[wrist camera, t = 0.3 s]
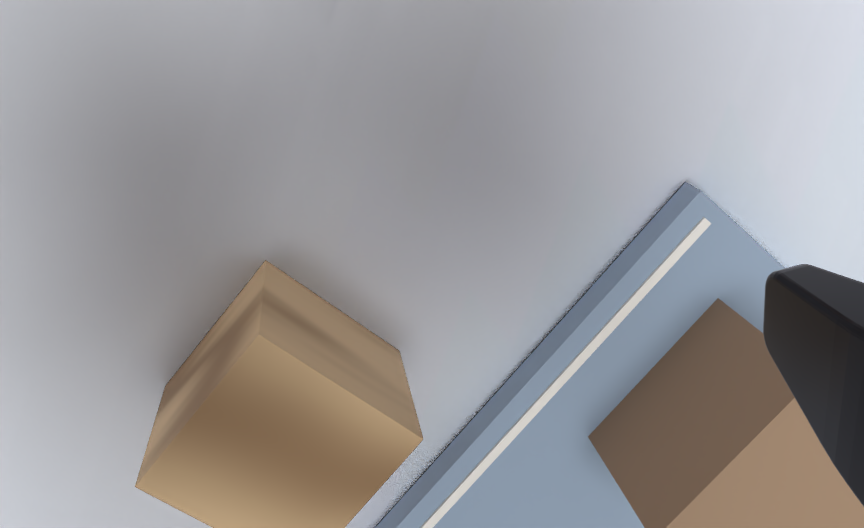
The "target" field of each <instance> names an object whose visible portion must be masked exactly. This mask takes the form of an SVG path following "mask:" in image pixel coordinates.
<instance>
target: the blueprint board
mask: <svg viewBox="0 0 864 528" xmlns="http://www.w3.org/2000/svg"><path fill="white" fill-rule="evenodd" d="M781 269H785V268H784V267H783V266H782V265H781V264H780V263H779V262H777V261H776V260H775V259H774V258H773V257H772V256H771V255H770V254H769V253H768V252H767V251H766V250H764V249H763V248H762V247H761V246H760V245H759V244H758V243H757V242H756V241H755V240H754V239H753V238H752V237H750V236H749V235H748V234H747V233H746V232H745V231H744V230H743V229H742V228H741V227H740V226H739V225H737V224H736V223H735V222H734V221H733V220H732V219H731V218H730V217H729V216H728V215H727V214H726V213H725V212H723V211H722V210H721V209H720V208H719V207H718V206H717V205H716V204H715V203H714V202H713V201H712V200H710V199H709V198H708V197H707V196H706V195H705V194H704V193H703V192H702V191H701V190H699V189H697V188H695V187H693V186H692V185H690V184H688V183H686V182H685V183H684V184H683V185H682V186H681V188H680V189H679V190H678V191H677V192H676V193H675V194H674V195H673V196H672V198H671V199H670V200H669V201H668V202H667V203H666V204H665V205H664V206H663V208H662V209H661V210H660V211H659V212H658V213H657V214H656V215H655V216H654V218H653V219H652V220H651V221H650V222H649V223H648V224H647V225H646V226H645V228H644V229H643V230H642V231H641V232H640V233H639V234H638V235H637V236H636V238H635V239H634V240H633V241H632V242H631V243H630V244H629V245H628V247H627V248H626V249H625V250H624V251H623V252H622V253H621V254H620V255H619V257H618V258H617V259H616V260H615V261H614V262H613V263H612V264H611V265H610V267H609V268H608V269H607V270H606V271H605V272H604V273H603V274H602V275H601V277H600V278H599V279H598V280H597V281H596V282H595V283H594V284H593V285H592V287H591V288H590V289H589V290H588V291H587V292H586V293H585V294H584V296H583V297H582V298H581V299H580V300H579V301H578V302H577V303H576V304H575V306H574V307H573V308H572V309H571V310H570V311H569V312H568V313H567V314H566V316H565V317H564V318H563V319H562V320H561V321H560V322H559V323H558V324H557V326H556V327H555V328H554V329H553V330H552V331H551V332H550V333H549V334H548V336H547V337H546V338H545V339H544V340H543V341H542V342H541V343H540V345H539V346H538V347H537V348H536V349H535V350H534V351H533V352H532V353H531V355H530V356H529V357H528V358H527V359H526V360H525V361H524V362H523V363H522V365H521V366H520V367H519V368H518V369H517V370H516V371H515V372H514V373H513V375H512V376H511V377H510V378H509V379H508V380H507V381H506V382H505V383H504V385H503V386H502V387H501V388H500V389H499V390H498V391H497V392H496V394H495V395H494V396H493V397H492V398H491V399H490V400H489V401H488V402H487V404H486V405H485V406H484V407H483V408H482V409H481V410H480V411H479V412H478V414H477V415H476V416H475V417H474V418H473V419H472V420H471V421H470V422H469V424H468V425H467V426H466V427H465V428H464V429H463V430H462V431H461V432H460V434H459V435H458V436H457V437H456V438H455V439H454V440H453V441H452V442H451V444H450V445H449V446H448V447H447V448H446V449H445V450H444V451H443V453H442V454H441V455H440V456H439V457H438V458H437V459H436V460H435V461H434V463H433V464H432V465H431V466H430V467H429V468H428V469H427V470H426V471H425V473H424V474H423V475H422V476H421V477H420V478H419V479H418V480H417V481H416V483H415V484H414V485H413V486H412V487H411V488H410V489H409V490H408V491H407V493H406V494H405V495H404V496H403V497H402V498H401V499H400V500H399V502H398V503H397V504H396V505H395V506H394V507H393V508H392V509H391V510H390V512H389V513H388V514H387V515H386V516H385V517H384V518H383V519H382V520H381V522H380V523H379V524H378V525H377V526H376V527H375V528H864V507H863V505H862V504H861V502H860V501H859V500H858V498H857V497H856V496H855V494H854V493H853V491H852V490H851V489H850V487H849V486H848V485H847V483H846V482H845V480H844V479H843V477H842V476H841V475H840V473H839V472H838V470H837V469H836V467H835V466H834V464H833V463H832V461H831V459H830V458H829V456H828V454H827V453H826V451H825V450H824V448H823V446H822V445H821V443H820V441H819V439H818V438H817V436H816V434H815V432H814V431H813V429H812V427H811V425H810V424H809V422H808V420H807V418H806V417H805V415H804V413H803V411H802V410H801V408H800V406H799V404H798V403H797V401H796V399H795V397H794V396H793V394H792V392H791V390H790V389H789V387H788V385H787V383H786V382H785V380H784V378H783V376H782V375H781V373H780V371H779V369H778V368H777V366H776V364H775V362H774V361H773V359H772V357H771V355H770V353H769V352H768V349H767V347H766V344H765V340H764V335H763V319H764V297H765V283H766V280H767V277H768V276H769V275H770V274H771V273H772V272H774V271H777V270H781Z"/></svg>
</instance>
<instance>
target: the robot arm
mask: <svg viewBox="0 0 864 528" xmlns="http://www.w3.org/2000/svg"><path fill="white" fill-rule="evenodd" d="M763 335H764V340H765V344H766V347H767V349H768V352H769V353H770V355H771V357H772V359H773V361H774V362H775V364H776V366H777V368H778V369H779V371H780V373H781V375H782V376H783V378H784V380H785V382H786V383H787V385H788V387H789V389H790V390H791V392H792V394H793V396H794V397H795V399H796V401H797V403H798V404H799V406H800V408H801V410H802V411H803V413H804V415H805V417H806V418H807V420H808V422H809V424H810V425H811V427H812V429H813V431H814V432H815V434H816V436H817V438H818V439H819V441H820V443H821V445H822V446H823V448H824V450H825V451H826V453H827V454H828V456H829V458H830V459H831V461H832V463H833V464H834V466H835V467H836V469H837V470H838V472H839V473H840V475H841V476H842V477H843V479H844V480H845V482H846V483H847V485H848V486H849V487H850V489H851V490H852V491H853V493H854V494H855V496H856V497H857V498H858V500H859V501H860V502H861V504H862V505H863V507H864V283H862V282H859V281H856V280H853V279H851V278H848V277H845V276H842V275H839V274H836V273H833V272H830V271H827V270H824V269H821V268H818V267H815V266H812V265H808V264H801V265H796V266H793V267H789V268H785V269H781V270H777V271H774V272H772V273H771V274H770V275H769V276H768V277H767V280H766V283H765V297H764V319H763Z"/></svg>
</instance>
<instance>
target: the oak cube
mask: <svg viewBox="0 0 864 528" xmlns="http://www.w3.org/2000/svg"><path fill="white" fill-rule="evenodd" d="M422 440H423V436H422V432H421V429H420V425H419V421H418V418H417V414H416V410H415V407H414V403H413V399H412V396H411V392H410V388H409V385H408V381H407V377H406V374H405V370H404V366H403V363H402V359H401V355H400V352H399V350H397V349H396V348H394V347H393V346H391V345H390V344H388V343H387V342H385V341H384V340H383V339H381V338H380V337H378V336H377V335H375V334H374V333H372V332H371V331H369V330H368V329H366V328H365V327H363V326H362V325H360V324H359V323H357V322H356V321H355V320H353V319H352V318H350V317H349V316H347V315H346V314H344V313H343V312H341V311H340V310H338V309H337V308H335V307H334V306H332V305H331V304H330V303H328V302H327V301H325V300H324V299H322V298H321V297H319V296H318V295H316V294H315V293H313V292H312V291H310V290H309V289H307V288H306V287H304V286H303V285H302V284H300V283H299V282H297V281H296V280H294V279H293V278H291V277H290V276H288V275H287V274H285V273H284V272H282V271H281V270H279V269H278V268H276V267H275V266H274V265H272V264H271V263H269V262H268V261H266V260H265V262H264V263H263V264H262V265H261V267H260V268H259V269H258V270H257V272H256V273H255V274H254V275H253V277H252V278H251V279H250V280H249V282H248V283H247V284H246V285H245V287H244V288H243V289H242V290H241V292H240V293H239V294H238V296H237V297H236V298H235V299H234V301H233V302H232V303H231V304H230V306H229V307H228V308H227V309H226V311H225V312H224V313H223V314H222V316H221V317H220V318H219V319H218V321H217V322H216V323H215V324H214V326H213V327H212V328H211V329H210V331H209V332H208V333H207V334H206V336H205V337H204V338H203V339H202V341H201V342H200V343H199V344H198V346H197V347H196V348H195V349H194V351H193V352H192V353H191V354H190V356H189V357H188V358H187V359H186V361H185V362H184V363H183V364H182V366H181V367H180V368H179V370H178V371H177V372H176V373H175V375H174V376H173V377H172V378H171V380H170V381H169V382H168V383H167V385H166V386H165V388H164V392H163V395H162V398H161V402H160V405H159V408H158V412H157V415H156V418H155V422H154V425H153V428H152V432H151V435H150V438H149V442H148V445H147V448H146V451H145V455H144V458H143V461H142V465H141V468H140V471H139V475H138V478H137V481H136V485H135V487H136V488H138V489H140V490H142V491H144V492H146V493H148V494H150V495H151V496H153V497H155V498H157V499H159V500H161V501H163V502H165V503H167V504H169V505H171V506H172V507H174V508H176V509H178V510H180V511H182V512H184V513H186V514H188V515H190V516H192V517H193V518H195V519H197V520H199V521H201V522H203V523H205V524H207V525H209V526H211V527H213V528H345V527H346V526H347V524H348V523H349V522H350V521H351V520H352V519H353V518H354V517H355V515H356V514H357V513H358V512H359V511H360V510H361V509H362V508H363V506H364V505H365V504H366V503H367V502H368V501H369V500H370V499H371V497H372V496H373V495H374V494H375V493H376V492H377V491H378V490H379V488H380V487H381V486H382V485H383V484H384V483H385V482H386V481H387V480H388V478H389V477H390V476H391V475H392V474H393V473H394V472H395V471H396V469H397V468H398V467H399V466H400V465H401V464H402V463H403V462H404V460H405V459H406V458H407V457H408V456H409V455H410V454H411V453H412V451H413V450H414V449H415V448H416V447H417V446H418V445H419V444H420V442H421V441H422Z"/></svg>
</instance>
